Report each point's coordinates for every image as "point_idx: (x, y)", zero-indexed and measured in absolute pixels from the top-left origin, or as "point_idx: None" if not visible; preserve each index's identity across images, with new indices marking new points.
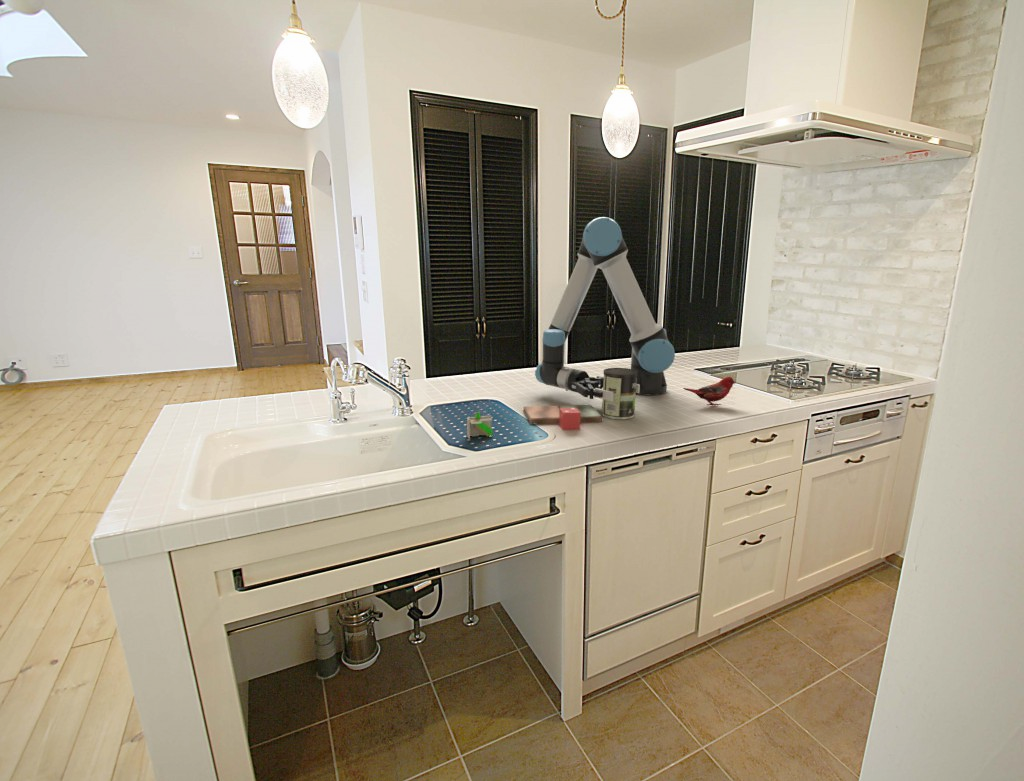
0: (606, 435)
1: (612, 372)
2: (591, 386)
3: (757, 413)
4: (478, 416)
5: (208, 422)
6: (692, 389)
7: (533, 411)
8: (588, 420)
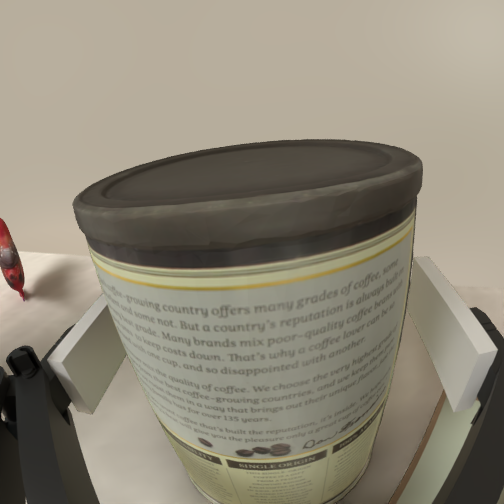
0: (491, 311)
1: (344, 160)
2: (489, 427)
3: (61, 254)
4: None
5: None
6: (12, 271)
7: None
8: None
